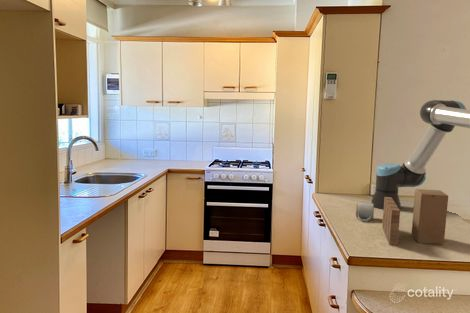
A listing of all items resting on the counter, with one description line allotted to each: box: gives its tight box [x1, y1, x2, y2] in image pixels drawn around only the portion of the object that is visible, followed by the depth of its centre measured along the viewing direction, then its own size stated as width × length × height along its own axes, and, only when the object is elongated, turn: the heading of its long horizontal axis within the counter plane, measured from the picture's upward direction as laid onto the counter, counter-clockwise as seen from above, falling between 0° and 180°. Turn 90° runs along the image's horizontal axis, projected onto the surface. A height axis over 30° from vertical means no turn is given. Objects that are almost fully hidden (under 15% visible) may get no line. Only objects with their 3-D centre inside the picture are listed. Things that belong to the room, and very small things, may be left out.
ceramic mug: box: [355, 202, 375, 223], centre depth 187 cm, size 11×8×8 cm
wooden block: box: [411, 188, 449, 245], centre depth 158 cm, size 10×10×20 cm
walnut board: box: [381, 197, 401, 247], centre depth 162 cm, size 24×3×14 cm, turn 165°
